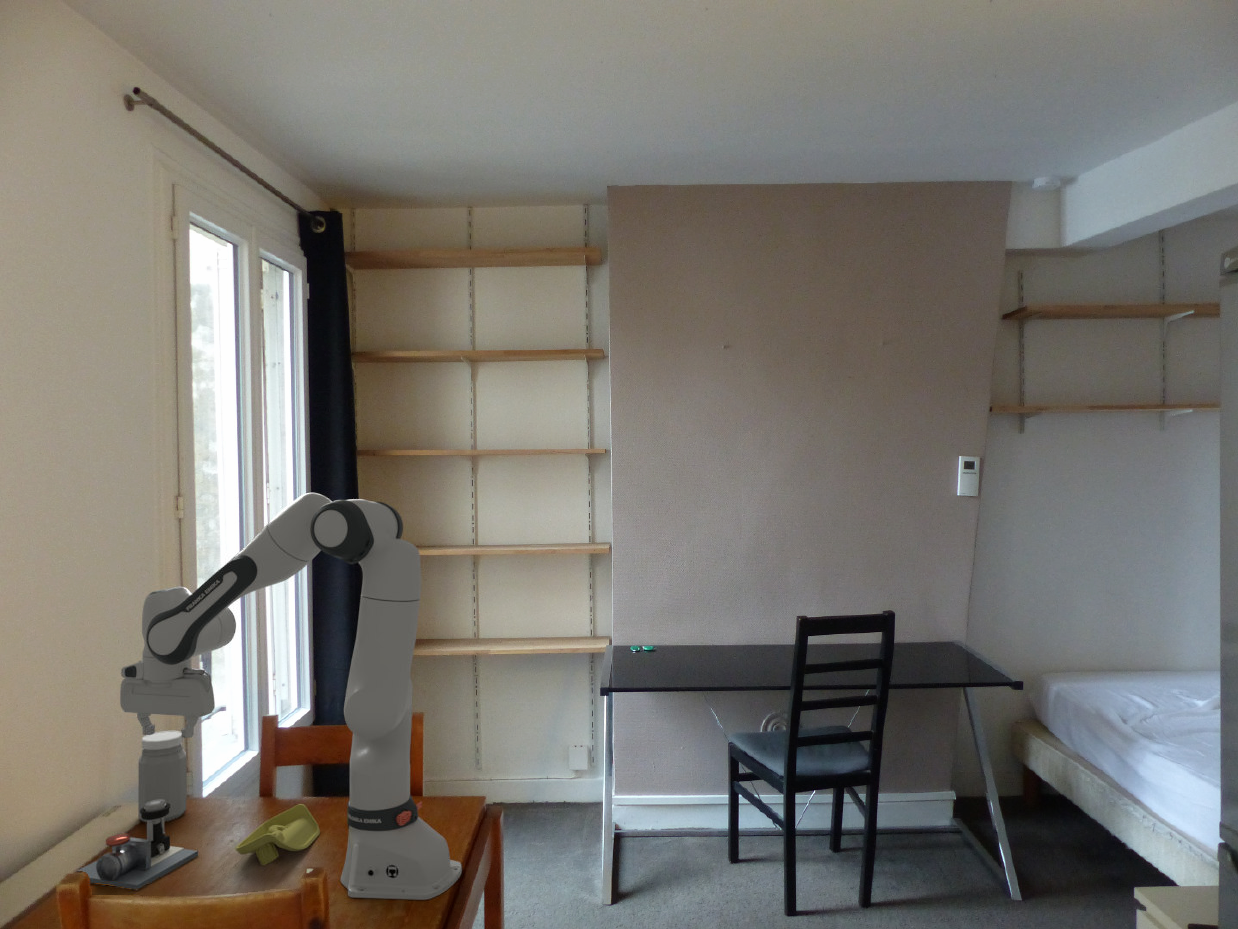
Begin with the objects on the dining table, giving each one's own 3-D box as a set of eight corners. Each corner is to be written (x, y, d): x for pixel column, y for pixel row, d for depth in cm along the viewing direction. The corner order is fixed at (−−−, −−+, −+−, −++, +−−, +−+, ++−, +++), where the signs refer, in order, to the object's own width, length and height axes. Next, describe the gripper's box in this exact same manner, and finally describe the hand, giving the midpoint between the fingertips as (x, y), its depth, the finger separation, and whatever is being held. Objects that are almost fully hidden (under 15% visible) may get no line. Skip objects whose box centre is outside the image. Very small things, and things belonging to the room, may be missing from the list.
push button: (151, 863, 167) (150, 811, 167) (128, 860, 168) (128, 809, 168) (177, 848, 173) (176, 798, 173) (155, 846, 174) (154, 797, 175)
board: (198, 855, 173) (198, 850, 173) (137, 890, 158) (137, 884, 158) (134, 846, 177) (134, 841, 177) (68, 880, 162) (68, 874, 162)
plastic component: (264, 821, 184) (307, 799, 185) (279, 853, 184) (322, 831, 184) (226, 854, 164) (274, 830, 165) (242, 890, 164) (291, 865, 165)
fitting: (150, 870, 165) (151, 832, 165) (124, 884, 159) (124, 845, 159) (117, 865, 167) (117, 828, 167) (89, 879, 161) (89, 841, 161)
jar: (180, 822, 190) (180, 740, 190) (131, 827, 187) (131, 744, 187) (191, 806, 199) (191, 728, 199) (144, 810, 197) (145, 731, 197)
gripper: (221, 666, 175) (222, 734, 175) (138, 662, 180) (139, 728, 180) (198, 672, 169) (199, 743, 169) (114, 668, 174) (114, 737, 174)
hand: (168, 735), depth 175 cm, fingers open, 8 cm apart
